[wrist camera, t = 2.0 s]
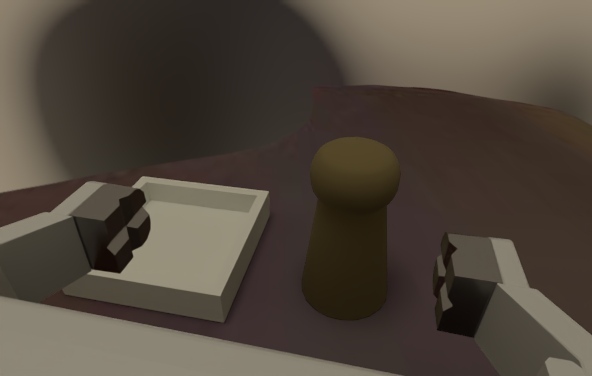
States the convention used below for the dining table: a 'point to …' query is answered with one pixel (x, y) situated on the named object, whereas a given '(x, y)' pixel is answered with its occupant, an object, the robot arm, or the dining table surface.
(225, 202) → the tray
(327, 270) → the cork
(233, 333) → the dining table surface
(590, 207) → the dining table surface
